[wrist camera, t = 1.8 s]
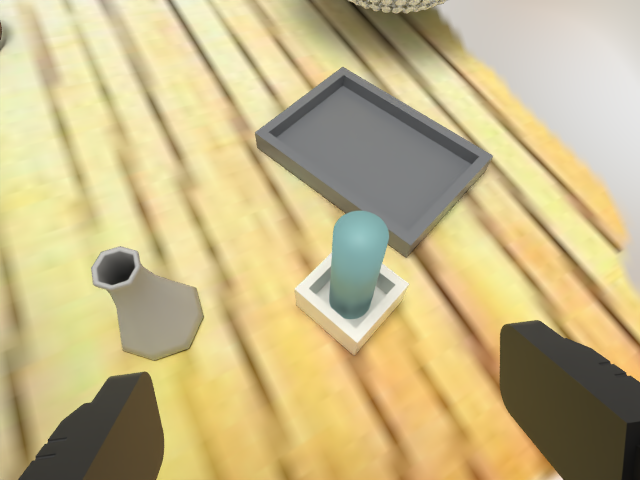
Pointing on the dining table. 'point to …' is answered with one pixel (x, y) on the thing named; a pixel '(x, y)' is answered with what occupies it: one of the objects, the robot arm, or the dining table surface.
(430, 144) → the tray
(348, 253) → the dowel
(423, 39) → the dining table surface
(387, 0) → the colander
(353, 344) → the tray
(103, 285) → the flask
